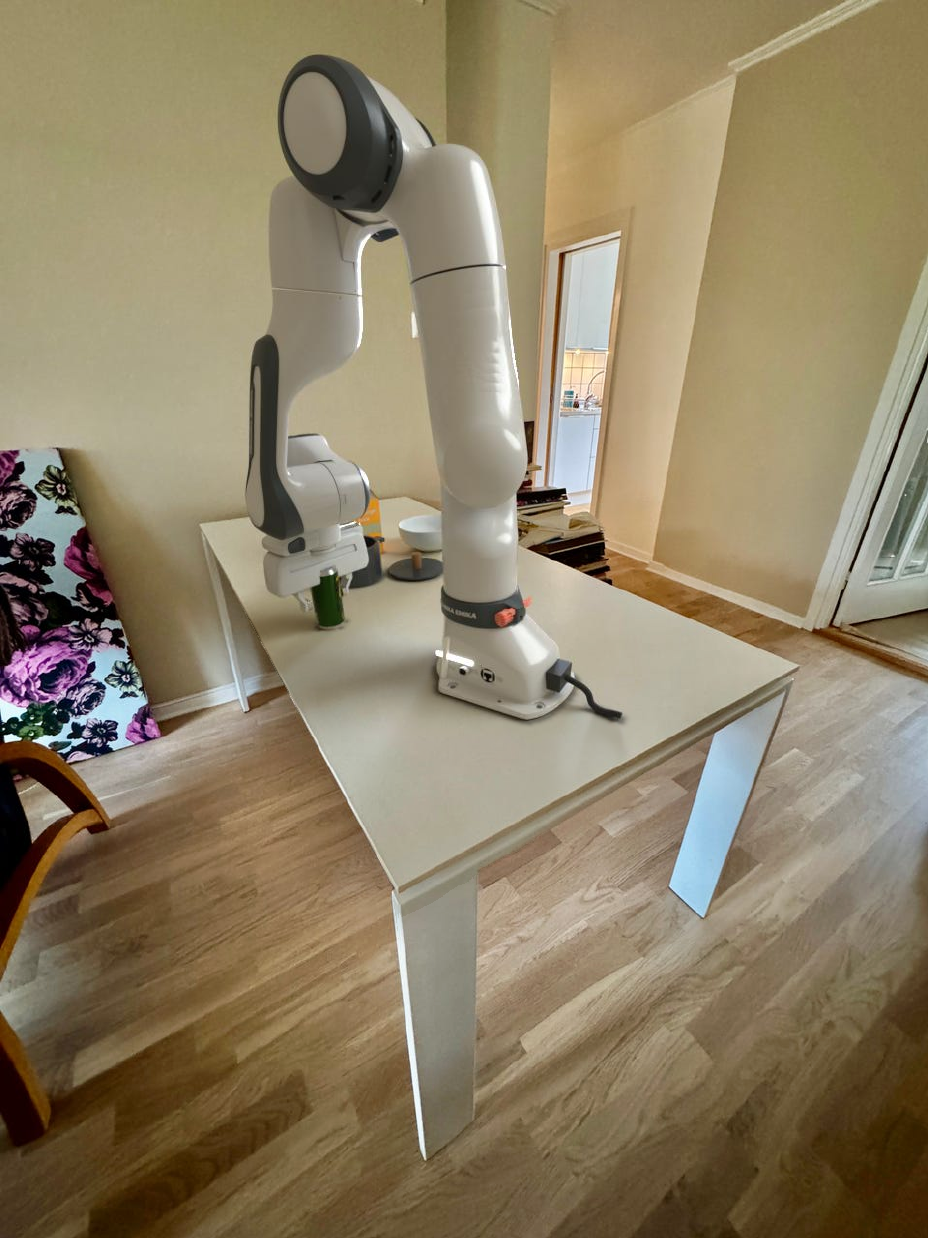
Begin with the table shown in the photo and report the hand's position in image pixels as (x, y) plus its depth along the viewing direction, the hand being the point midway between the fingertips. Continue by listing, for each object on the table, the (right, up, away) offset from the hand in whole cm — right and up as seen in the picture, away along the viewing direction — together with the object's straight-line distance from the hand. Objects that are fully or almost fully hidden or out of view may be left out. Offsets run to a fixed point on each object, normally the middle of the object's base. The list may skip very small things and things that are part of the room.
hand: (325, 602), depth 91 cm
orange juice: (-1, +15, +39) cm, 42 cm away
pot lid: (+15, +9, +26) cm, 31 cm away
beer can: (0, -4, +2) cm, 5 cm away
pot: (0, +7, +23) cm, 24 cm away
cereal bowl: (+17, +17, +42) cm, 48 cm away
